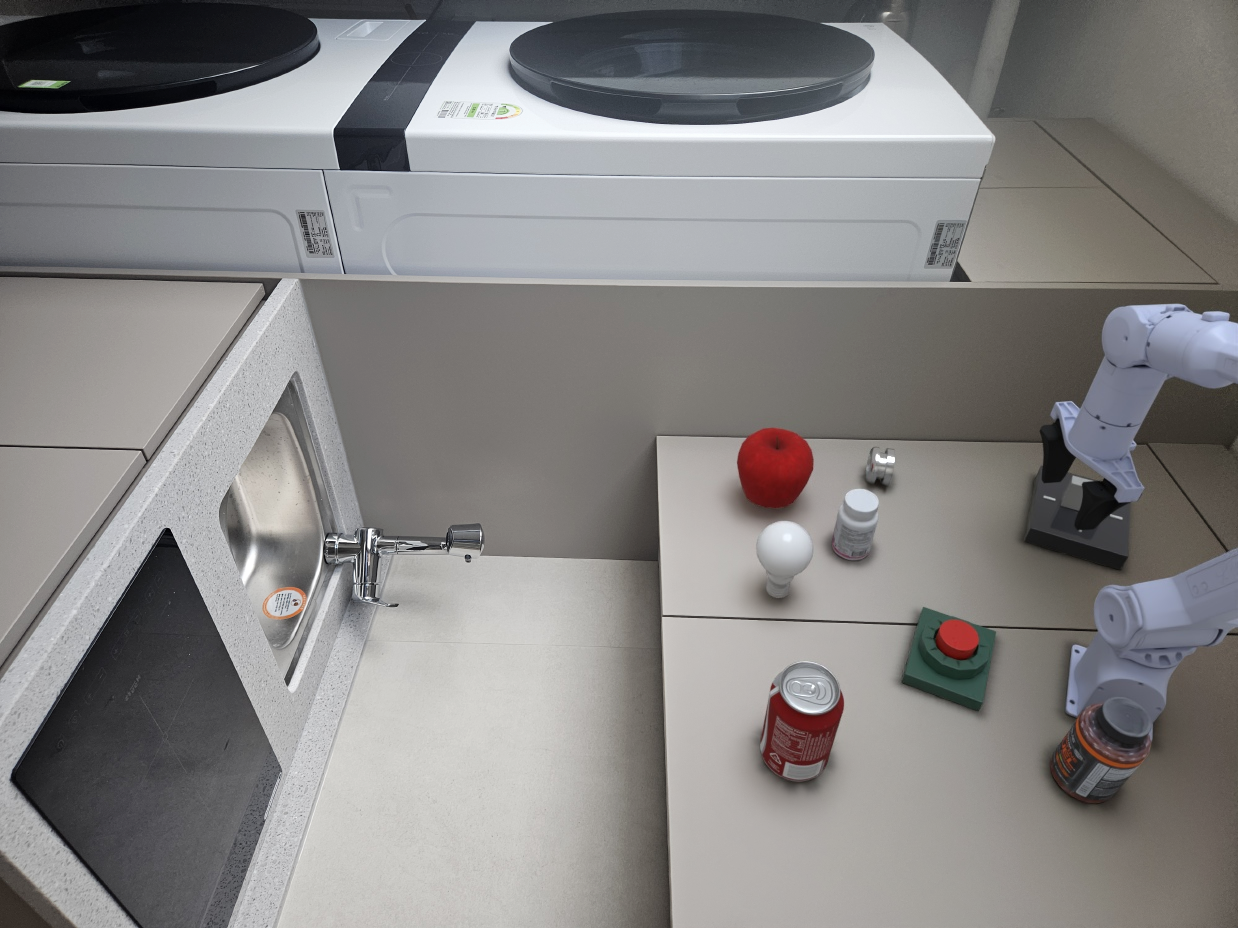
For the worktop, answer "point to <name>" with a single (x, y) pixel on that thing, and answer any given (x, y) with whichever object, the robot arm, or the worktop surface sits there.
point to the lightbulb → (783, 554)
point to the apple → (774, 467)
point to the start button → (957, 639)
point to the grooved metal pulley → (880, 465)
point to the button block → (948, 663)
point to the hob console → (1058, 532)
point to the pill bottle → (855, 524)
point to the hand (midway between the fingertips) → (1067, 503)
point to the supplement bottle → (1102, 749)
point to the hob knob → (1073, 493)
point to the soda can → (801, 721)
